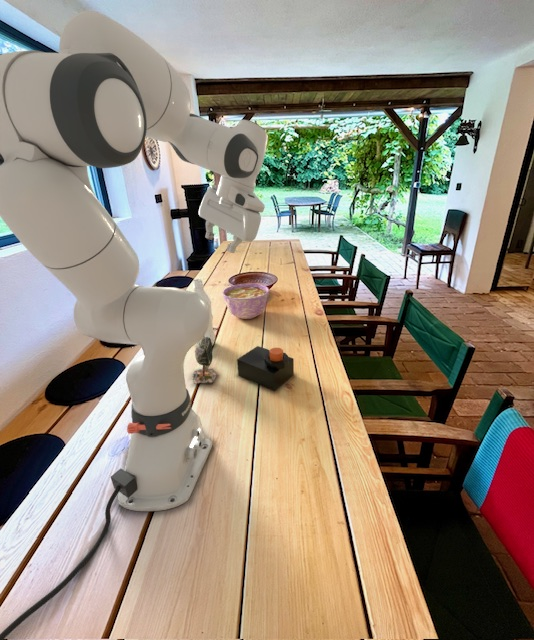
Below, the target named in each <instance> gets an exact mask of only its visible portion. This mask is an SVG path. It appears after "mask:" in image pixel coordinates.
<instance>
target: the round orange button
mask: <svg viewBox="0 0 534 640" xmlns="http://www.w3.org/2000/svg"><path fill="white" fill-rule="evenodd" d="M269 350H270V351H269V354H270V360H271V361H276V362H278V361H282V360H283V353H284V349H283V348H281V347H272V348H269Z"/></svg>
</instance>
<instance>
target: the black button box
mask: <svg viewBox="0 0 534 640" xmlns="http://www.w3.org/2000/svg"><path fill="white" fill-rule="evenodd" d="M269 351H270V349H268V348H264V347H262V346H259V345H256V346H255V347H254V348H252V349H250V350H249V351H247V352H246V353H244V354H243V355H241V356H240V357H238V358H237V359H236V364H237V375H238V377H241V378H243V379H245V380H248V381H250V382H252V383H254V384H256V385H258V386H261V387H263V388H265V389H267V390H270V391H273V392H276V391H277V390H278V389H279V388H280V387H282V386H283V385H284V384H285V383H286V382H287V381H289V380H290V379H291V378H292V377H293V376H294V375H295V374H294V373H295V372H294V370H295V368H294V365H295V364H294V357H290V356H289V355H288V354H287V353H286V352H283V360H282V361H278V362H276V361H271V360H270V354H269Z"/></svg>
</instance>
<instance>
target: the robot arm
mask: <svg viewBox="0 0 534 640" xmlns="http://www.w3.org/2000/svg"><path fill="white" fill-rule="evenodd" d="M190 93H191V92H190V90H189V87H188V84H186V82H185V80H184V78H183V77H182V76H181V74H180V73H179V72H178V71H177V70H176V68H175V67H174V66H173V65H172V64H171V62H169V61H167V59H165V58H164V57H163V56H162V54H160V52H158V51H157V50H156V49H155V48H154V47H152V45H150V44H149V43H148V42H146V41H145V40H144V39H143V38H141V37H140V36H138V35H137V33H135V32H133V31H131V29H129V28H128V27H126V26H124V25H122V24H121V23H119V22H118V21H116V20H114V19H113V18H111V17H109V16H108V15H106V14H103V13H101V12H98V11H94V10H83V11H80V12H78V13H75V14H74V15H73V16H72V17H70V19H68V21H67V22H66V23H65V25H64V27H63V28H62V32H61V34H60V38H59V45H58V52H44V51H40V50H35V49H34V50H33V49H31V50H19V51H12V52H7V53H0V218H1V219H2V221H3V223H4V224H5V225H6V226H7V228H8V229H9V230H10V231H11V233H12V234H13V235H14V236H15V237H16V239H18V241H19V243H21V245H22V246H23V247H24V248H25V249H26V250H27V251H28V252H29V253H30V254H31V255H32V256H33V257H34V258H35V259H36V260H37V261H38V262H39V263H40V264H41V265H42V266H43V267H45V268H46V270H48V271H49V272H50V273H51V274H52V275H53V277H55V278H56V279H57V280H58V281H59V282H60V283H61V284H62V285H63V286H64V287H65V288H66V289H67V290H68V291H69V292H70V293H71V294H72V295H73V296H74V297H75V299H76V301H75V303H74V307H73V320H74V323H75V326H76V328H77V329H78V330H79V332H80V333H81V334H82V335H84V336H86V337H89V338H92V339H95V340H99V341H102V342H106V343H110V344H122V345H123V344H124V345H125V344H126V345H135V346H140V348H141V349H142V352H143V355H140V356H139V357H138V358H136V359H135V360H133V362H132V363H131V364H130V365H129V367H128V369H127V372H126V375H125V381H126V385H127V389H128V392H129V396H130V400H131V410H130V411H131V412H130V413H131V414H130V415H131V416H130V417H131V422H129V423H127V426H126V432H127V434H129V435H130V437H129V438H130V439H129V443H128V444H129V446H128V452H127V457H126V461H125V465H124V469H123V468H121V467H120V468H119V469H118V470H117V471H115V473H113V474H112V475H111V476H110V480H111V483H112V485H113V486H112V487H113V489H114V491H113V492H112V494H111V495H110V497H109V499H108V502H107V503H106V507H105V510H104V511H105V513H104V515H105V516H104V517H105V524H104V526H103V529H102V531H101V533H100V535H99V537H98V539H97V540H96V542H95V544H94V545H93V547H92V548H91V549H90V551H89V552H88V553H87V554H86V555H85V556H84V557H83V558H82V559H81V561H80V562H79V563H78V564H77V565H76V566H75V567H74V568H73V570H72V571H71V572H70V573H69V574H68V575H67V576H66V577H65V578H64V579H63V580H62V581H61V582H60V583H59V584H58V585H57V586H56V587H54V588H53V589H52V590H51V591H49V592H48V593H47V594H46V595H44V596H43V597H42V598H40V599H39V600H38V601H37V602H35V603H34V604H33V605H32V606H30V607H29V608H27V609H26V611H24V612H23V613H22V614H21V615H19V616H18V617H16V618H15V620H14V621H13V622H11V623H10V624H9V625H8V626H7V627H6V628H4V630H3V631H2V632H0V640H4V639H5V638H6V637H8V636H9V635H10V634H11V633H12V632H13V631H14V630H15V629H16V628H17V627H18V626H19V625H20V624H22V623H23V622H24V621H25V620H26V619H28V618H29V617H30V616H31V615H32V614H34V613H35V612H37V610H39V609H40V608H41V607H43V606H44V605H45V604H46V603H47V602H49V601H50V600H51V599H52V598H54V597H55V596H56V595H57V594H58V593H59V592H61V591H63V589H64V588H65V587H66V586H67V585H68V584H69V583H70V582H71V581H72V579H74V578H75V576H76V575H77V574H78V573H79V572H80V571H81V570H82V569H83V567H84V566H86V564H87V563H88V562H89V561H90V559H91V558H92V557H93V556H94V555H95V553H96V552H97V550H98V548H99V547H100V545H101V543H102V542H103V540H104V538H105V537H106V535H107V533H108V531H109V528H110V526H111V522H112V515H111V509H112V506H113V503H114V501H115V499H116V498H117V503H118V505H119V506H120V507H122V508H124V509H126V510H129V511H133V512H134V511H135V512H159V511H166V510H171V509H174V508H177V507H179V506H181V505H183V504H185V503H187V502H188V501H189V500H190V498H191V495H192V494H193V491H194V489H195V487H196V484H197V482H198V480H199V477H200V475H201V473H202V470H203V468H204V466H205V464H206V461H207V459H208V457H209V455H210V453H211V450H212V448H213V443H212V441H211V439H209V438H208V437H206V436H205V434H204V429H203V425H202V422H201V418H200V415H198V414H197V413H196V412H195V410H193V408H192V399H191V394H190V392H189V390H188V388H187V385H186V377H185V367H184V365H185V359H186V356H187V354H188V353H189V351H190V350H191V348H193V347H195V345H196V344H197V343H198V342H199V341H200V340H201V339H202V338H203V337H204V335H205V333H206V331H207V329H208V326H209V320H210V315H209V310H208V306H207V304H206V302H205V301H204V299H203V298H202V297H201V295H199V294H198V293H194V291H190V290H187V289H182V288H179V287H168V286H166V287H164V286H144V285H139V284H136V281H137V280H138V277H139V273H140V259H139V256H138V254H137V252H136V251H135V249H134V248H133V247H132V245H131V244H130V242H129V241H128V238H126V236H125V235H124V234H123V232H122V230H121V229H120V228H119V226H118V225H117V223H116V222H115V220H114V219H113V217H112V216H111V215H110V213H109V212H108V210H107V209H106V207H104V205H103V204H102V202H101V201H100V200H99V199H98V198H97V196H96V194H95V192H94V190H93V187H92V184H91V182H90V178H89V173H88V167H94V168H97V169H112V168H119V167H122V166H125V165H128V164H131V163H132V162H133V161H135V160H136V159H137V157H138V156H139V155H140V153H141V150H142V148H143V146H144V145H145V140H146V138H148V139H151V140H155V141H159V142H163V143H169V145H170V146H171V147H172V149H173V150H174V153H176V155H177V157H178V158H179V159H180V160H181V161H183V162H185V163H189V164H191V165H195V166H198V167H201V168H203V169H206V170H207V171H210V172H213V173H216V174H218V175H219V176H220V179H219V183H218V185H216V184H212V185H210V186H209V187H207V190H206V192H205V193H204V195H203V198H202V200H201V203H200V205H199V209H198V215H199V217H200V218H202V219H204V220H205V231H206V232H205V236H204V237H205V238H206V239H207V240H211V241H212V240H214V237H215V233H214V227H218V228H220V229H222V230H223V231H225V232H227V233H229V234H231V235H233V237H232V240H233V241H232V242H231V243H229V244H227V246H226V251H228V253H231V254H234V253H235V252H236V251H237V247H238V246H240V245H241V244H242V243H243V242H249V243H252V242H253V241H254V240H255V239H256V237H257V235H258V232H259V229H260V225H261V223H262V215H261V213H263V212H264V210H265V207H266V206H265V204H264V203H263V201H262V200H261V199H260V198H259V197H258V196H257V195H256V194H255V193H254V192H255V189H256V180H257V178H258V175H259V173H260V172H261V170H262V166H263V163H264V160H265V155H266V152H267V145H268V138H269V137H268V133H267V131H266V130H265V128H264V127H262V126H261V125H259V124H257V123H256V122H254V121H252V120H249V119H241V120H239V121H238V123H237V125H235V126H226V125H223V124H220V123H218V122H214V121H211V120H210V119H206V118H204V117H202V116H199V115H197V114H195V113H191V105H192V103H191V94H190ZM197 345H198V344H197Z"/></svg>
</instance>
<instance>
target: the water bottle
mask: <svg viewBox="0 0 534 640" xmlns="http://www.w3.org/2000/svg"><path fill="white" fill-rule="evenodd" d="M192 287H193V292H194V293H198V294H199V295H201V297H202V298H203V299H204V301H205V302H206V304H207V306H208V310H209V315H210V320H209V326H208V329H207V331H206V333H205V335H204V337H209V338H210V339H211V343H212V347H213V346H214V344H215V343H216V333H215V330H214V325H213V321H214V315H213V309H212V300H211V298H210V296H209V294H208V293H207V292H206V291H205V288H204V287H205V286H204V281H203V279H202V278H195V279H193V286H192ZM204 337H203V338H204ZM199 342H200V341H199ZM199 342H198V343H199ZM198 343H197V345H198Z"/></svg>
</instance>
